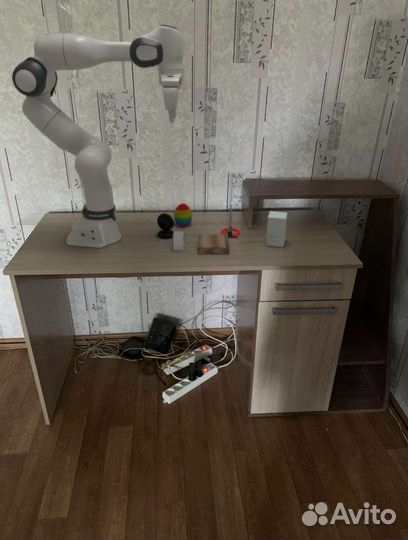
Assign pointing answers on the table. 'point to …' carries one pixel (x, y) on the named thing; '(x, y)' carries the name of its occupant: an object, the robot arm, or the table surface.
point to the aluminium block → (178, 240)
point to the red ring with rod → (230, 227)
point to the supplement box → (276, 229)
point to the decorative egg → (182, 215)
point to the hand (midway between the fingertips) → (172, 120)
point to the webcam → (165, 226)
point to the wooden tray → (214, 244)
